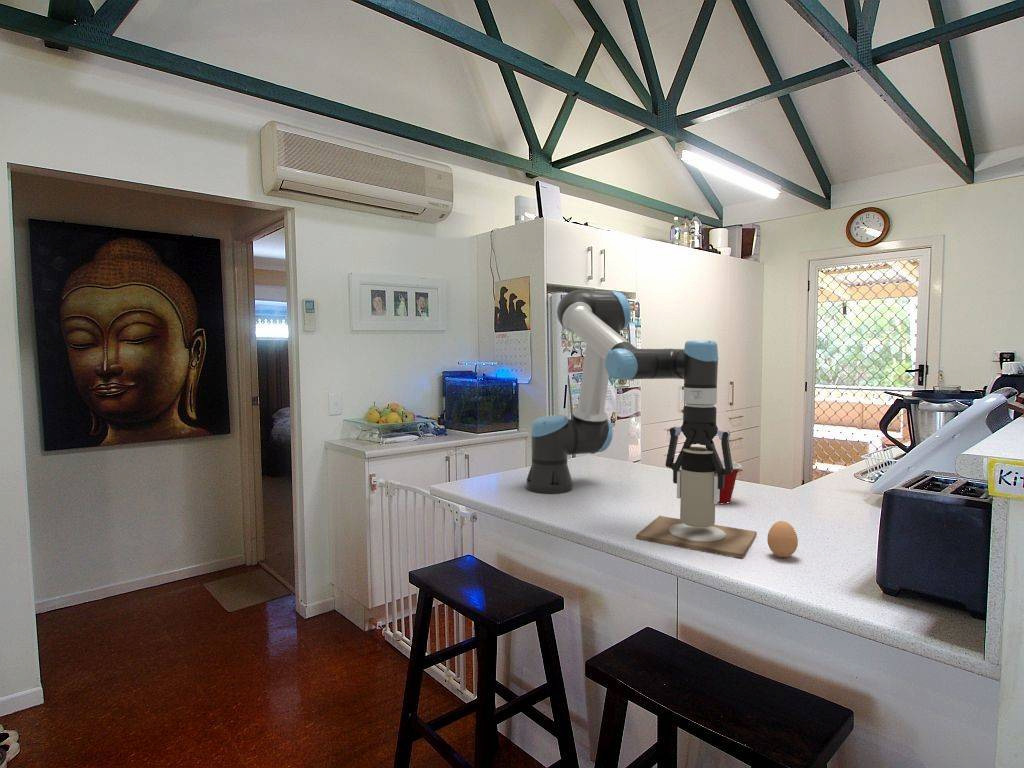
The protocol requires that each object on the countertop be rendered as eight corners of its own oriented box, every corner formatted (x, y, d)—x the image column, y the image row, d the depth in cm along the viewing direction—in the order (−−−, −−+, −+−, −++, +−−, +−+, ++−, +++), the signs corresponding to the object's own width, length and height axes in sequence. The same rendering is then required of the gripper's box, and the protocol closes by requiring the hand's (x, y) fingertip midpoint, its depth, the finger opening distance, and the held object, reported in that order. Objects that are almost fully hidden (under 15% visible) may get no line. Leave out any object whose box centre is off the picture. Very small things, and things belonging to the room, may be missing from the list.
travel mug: (679, 525, 133) (680, 450, 132) (681, 516, 140) (682, 445, 139) (714, 529, 130) (716, 453, 129) (714, 519, 137) (716, 447, 136)
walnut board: (636, 538, 134) (636, 532, 134) (659, 519, 149) (659, 514, 149) (742, 558, 121) (743, 552, 121) (756, 535, 136) (756, 529, 136)
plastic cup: (734, 509, 159) (735, 467, 158) (696, 502, 166) (697, 462, 165) (744, 500, 168) (745, 461, 167) (708, 495, 174) (709, 457, 174)
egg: (783, 563, 119) (784, 527, 118) (760, 554, 124) (761, 519, 124) (803, 559, 121) (804, 523, 121) (780, 550, 127) (781, 515, 126)
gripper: (652, 404, 136) (650, 496, 137) (743, 409, 125) (740, 509, 126) (661, 401, 142) (660, 490, 143) (749, 406, 131) (746, 502, 132)
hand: (697, 499), depth 135 cm, fingers closed on travel mug, 8 cm apart
